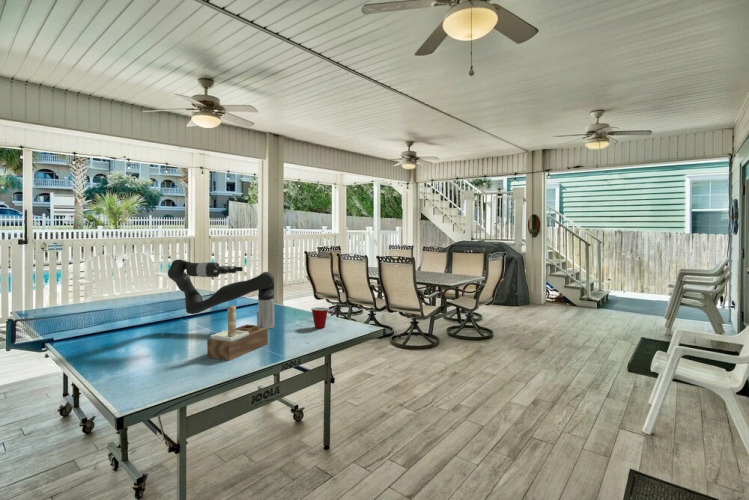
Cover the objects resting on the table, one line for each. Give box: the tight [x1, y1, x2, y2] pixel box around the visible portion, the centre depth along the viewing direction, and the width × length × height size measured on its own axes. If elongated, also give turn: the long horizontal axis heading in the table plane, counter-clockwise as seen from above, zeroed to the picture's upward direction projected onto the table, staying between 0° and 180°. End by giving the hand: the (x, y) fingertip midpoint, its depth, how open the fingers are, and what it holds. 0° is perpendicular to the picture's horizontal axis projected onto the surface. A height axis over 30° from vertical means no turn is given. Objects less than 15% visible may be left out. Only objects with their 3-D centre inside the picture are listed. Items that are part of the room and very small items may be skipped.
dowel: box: [227, 305, 237, 337], centre depth 182 cm, size 4×4×14 cm
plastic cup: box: [310, 306, 330, 330], centre depth 232 cm, size 11×11×12 cm
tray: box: [210, 329, 249, 342], centre depth 182 cm, size 12×12×2 cm
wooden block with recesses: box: [206, 323, 269, 361], centre depth 188 cm, size 13×27×10 cm, turn 158°
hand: (239, 269), depth 199 cm, fingers open, 8 cm apart
